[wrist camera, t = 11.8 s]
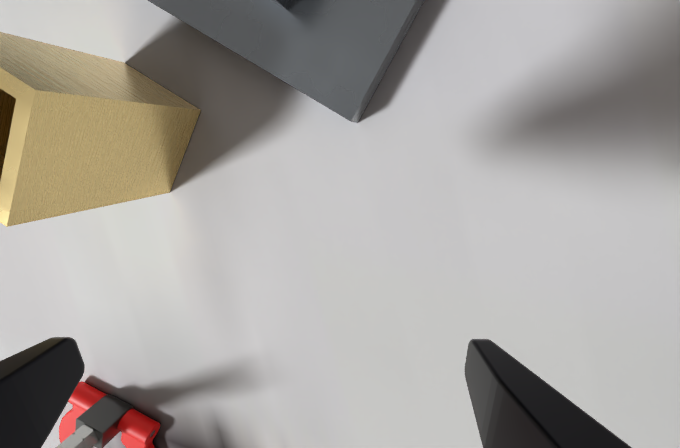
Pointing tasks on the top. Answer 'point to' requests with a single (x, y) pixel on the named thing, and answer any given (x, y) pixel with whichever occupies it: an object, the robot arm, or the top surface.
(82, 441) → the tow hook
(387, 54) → the grey base plate
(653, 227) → the top surface
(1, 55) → the gold open box
